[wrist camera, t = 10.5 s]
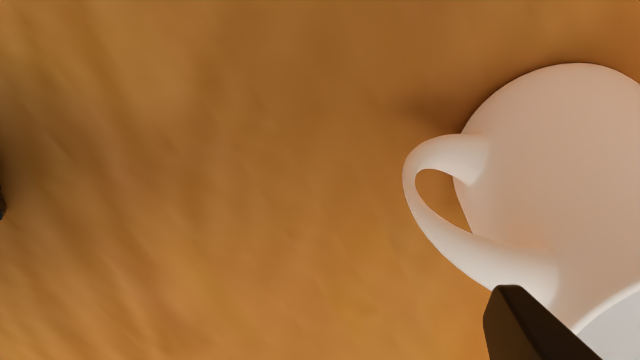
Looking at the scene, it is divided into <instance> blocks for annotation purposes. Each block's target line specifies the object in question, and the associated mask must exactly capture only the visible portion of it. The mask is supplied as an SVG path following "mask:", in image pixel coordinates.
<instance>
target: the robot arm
mask: <svg viewBox="0 0 640 360" xmlns="http://www.w3.org/2000/svg"><path fill="white" fill-rule="evenodd" d="M0 190H1V186H0ZM5 212H6V207H5V204H4V201H3V199H2V196H1V193H0V220H1V219H2V218H3V216H4V214H5ZM483 329H484V334H485V338H486V343H487V348H488V352H489V357H490V360H603V359H602V358H601V357H599V356H598V355H597V354H596V353H595V352H594V351H593V350H592V349H591V348H590V347H588V346H587V345H586V344H585V343H584V342H583V341H582V340H581V339H580V338H578V337H577V336H576V335H575V334H574V333H573V332H572V331H571V330H570V329H569V328H567V327H566V326H565V325H564V324H563V323H562V322H561V321H560V320H559V319H557V318H556V317H555V316H554V315H553V314H552V313H551V312H550V311H549V310H547V309H546V308H545V307H544V306H543V305H542V304H541V303H540V302H539V301H538V300H536V299H535V298H534V297H533V296H532V295H531V294H530V293H529V292H528V291H526V290H525V289H524V288H523V287H521V286H520V285H515V284H510V285H497V286H496V287H494V289H493V291H492V294H491V296H490V299H489V301H488V304H487V307H486V309H485V312H484V315H483Z"/></svg>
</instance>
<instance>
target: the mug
mask: <svg viewBox="0 0 640 360" xmlns="http://www.w3.org/2000/svg"><path fill="white" fill-rule="evenodd" d="M422 169H436V170H440V171H443V172H445V173H447V174H450V175H452V176H453V182H454V187H455V191H456V194H457V197H458V200H459V202H460V205H461V207H462V210H463V212H464V215H465V217H466V219H467V222H468V224H469V226H470V229H471V231H472V233H473V234H472V233H470V232H467V231H465V230H463V229H461V228H459V227H457V226H455V225H453V224H451V223H450V222H448V221H447V220H445V219H443V218H442V217H440V216H439V215H438V214H436V213H435V212H434V211H433V210H431V209H430V208H429V207H428V206H427V205H426V203H425V202H424V201H423V200H422V199H421V197H420V196H419V194H418V192H417V191H416V187H415V177H416V174H417V173H418V172H419V171H420V170H422ZM402 181H403V189H404V193H405V197H406V200H407V203H408V206H409V208H410V211H411V213H412V215H413V216H414V218H415V220H416V222H417V224H418V226H419V227H420V228H421V230H422V231H423V232H424V234H425V235H426V236H427V238H428V239H429V240H430V241H431V243H432V244H433V245H434V246H435V247H436V248H437V249H438V250H439V252H440V253H441V254H442V255H443V256H445V257H446V258H447V259H448V260H449V261H450V262H451V263H452V264H454V265H455V266H456V267H457V268H458V269H460V270H461V271H462V272H464V273H465V274H466V275H468V276H469V277H470V278H472V279H473V280H475V281H476V282H478V283H479V284H481V285H483V286H484V287H486V288H487V289H489V290H490V291H493V289H494V287H496V286H497V285H510V284H515V285H520V286H521V287H523V288H524V289H525V290H526V291H528V292H529V293H530V294H531V295H532V296H533V297H534V298H535V299H536V300H538V301H539V302H540V303H541V304H542V305H543V306H544V307H545V308H546V309H547V310H549V311H550V312H551V313H552V314H553V315H554V316H555V317H556V318H557V319H559V320H560V321H561V322H562V323H563V324H564V325H565V326H566V327H567V328H569V329H570V330H571V331H572V332H573V333H574V334H575V335H576V336H577V337H578V338H580V339H581V340H582V341H583V342H584V343H585V344H586V345H587V346H588V347H590V348H591V349H592V350H593V351H594V352H595V353H596V354H597V355H598V356H599V357H601V358H602V359H603V360H640V85H639V84H638V83H637V82H635V81H634V80H633V79H631V78H629V77H628V76H626V75H624V74H622V73H620V72H618V71H616V70H614V69H611V68H608V67H605V66H601V65H596V64H589V63H569V64H559V65H553V66H548V67H544V68H541V69H538V70H535V71H532V72H530V73H527V74H525V75H523V76H520V77H518V78H517V79H515V80H513V81H511V82H509V83H508V84H506V85H505V86H503V87H502V88H500V89H499V90H497V91H496V92H495V93H494V94H492V95H491V96H490V97H489V98H488V99H487V100H485V101H484V103H483V104H482V105H481V106H480V107H479V108H478V109H477V110H476V111H475V112H474V114H473V115H472V116H471V118H470V119H469V120H468V122H467V124H466V125H465V127H464V129H463V130H462V132H461V134H449V135H443V136H438V137H435V138H432V139H429V140H427V141H425V142H423V143H421V144H419V145H418V146H417V147H415V148H414V149H413V150H412V151H411V152H410V153H409V155H408V156H407V158H406V160H405V163H404V166H403V171H402Z"/></svg>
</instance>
